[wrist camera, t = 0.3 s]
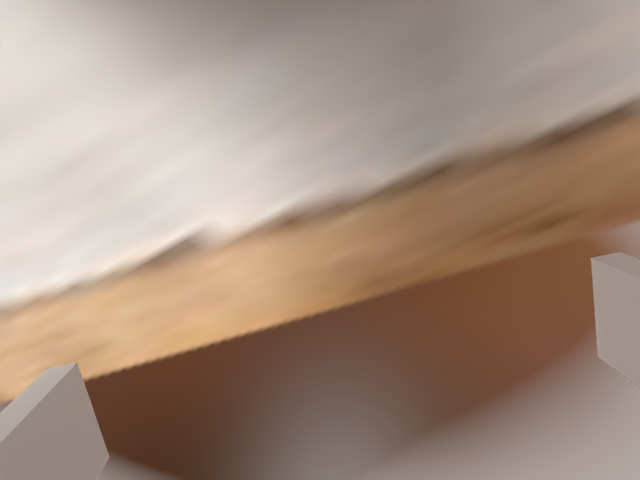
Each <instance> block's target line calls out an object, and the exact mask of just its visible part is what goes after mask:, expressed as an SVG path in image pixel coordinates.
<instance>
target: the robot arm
mask: <svg viewBox="0 0 640 480" xmlns="http://www.w3.org/2000/svg"><path fill="white" fill-rule="evenodd" d="M591 267H592V281H593V295H594V310H595V325H596V339H597V354H598V357H599V358H600V359H602V360H603V361H604V362H605V363H607V364H608V365H610V366H611V367H612V368H614V369H615V370H616V371H618V372H619V373H620V374H622V375H623V376H625V377H626V378H627V379H629V380H630V381H631V382H633V383H634V384H635V385H637V386H638V387H640V259H639V258H636V257H633V256H630V255H628V254H625V253H622V252H618V253H613V254H609V255H604V256H598V257H593V258H591ZM108 459H109V455H108V453H107V449H106V446H105V443H104V441H103V438H102V435H101V432H100V429H99V426H98V423H97V420H96V417H95V414H94V411H93V408H92V405H91V402H90V399H89V396H88V393H87V390H86V387H85V384H84V381H83V378H82V375H81V373H80V370H79V367H78V364H77V363H73V364H68V365H63V366H59V367H54V368H49V369H46V370H45V371H44V372H43V373H42V374H41V375H40V376H39V377H38V378H37V379H36V380H35V381H33V382H32V383H31V384H30V385H29V386H28V387H27V388H26V389H25V390H24V391H23V392H22V393H21V394H20V395H19V396H18V397H17V398H15V399H14V400H13V401H12V402H11V403H10V404H9V405H8V406H7V407H6V408H5V409H4V410H3V411H2V412H1V413H0V480H96V479H97V478H98V476H99V474H100V472H101V471H102V469H103V467H104V466H105V464H106V462H107V460H108Z"/></svg>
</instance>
